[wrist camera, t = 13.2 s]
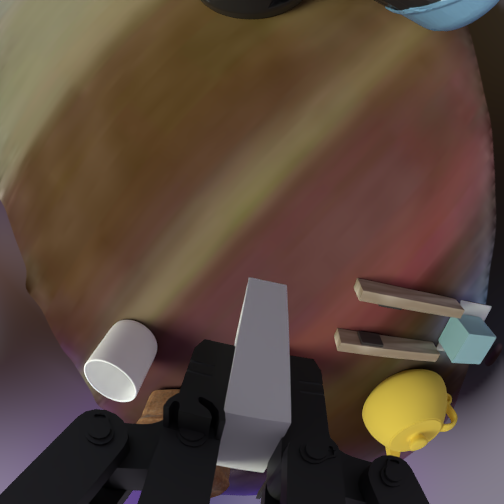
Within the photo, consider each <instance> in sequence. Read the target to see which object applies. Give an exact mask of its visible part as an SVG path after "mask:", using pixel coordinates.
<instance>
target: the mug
mask: <svg viewBox="0 0 504 504" xmlns="http://www.w3.org/2000/svg"><path fill="white" fill-rule="evenodd" d="M156 353H157V342H156V339H155V337H154V335H153V334H152V332H151V331H150V330H149V329H148V328H147V327H145V326H144V325H143V324H141V323H139V322H137V321H133V320H121V321H118V322H117V323H115V324H114V325H113V326H112V328H111V329H110V330H109V332H108V333H107V334H106V336H105V337H104V338H103V340H102V341H101V343H100V344H99V345H98V347H97V348H96V350H95V351H94V352H93V354H92V355H91V357H90V358H89V359H88V361H87V362H86V364H85V366H84V373H85V376H86V378H87V380H88V381H89V383H90V384H91V385H92V387H93V388H94V389H96V390H97V391H98V392H99V393H101V394H102V395H104V396H105V397H107V398H109V399H112V400H114V401H118V402H129V401H132V400H133V399H134V398H135V397H136V395H137V393H138V391H139V389H140V387H141V385H142V383H143V381H144V379H145V377H146V374H147V372H148V370H149V368H150V366H151V364H152V362H153V360H154V358H155V356H156Z"/></svg>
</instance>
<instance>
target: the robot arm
mask: <svg viewBox="0 0 504 504" xmlns="http://www.w3.org/2000/svg"><path fill="white" fill-rule="evenodd" d="M201 1H202V2H203V3H204V4H205V5H206V6H207V7H209V8H210V9H212V10H213V11H215V12H217V13H220V14H222V15H225V16H229V17H233V18H239V19H260V18H267V17H272V16H275V15H278V14H281V13H284V12H286V11H288V10H290V9H292V8H293V7H295V6H296V5H298V4H299V3H300V2H301V1H302V0H201ZM374 1H376V2H378V3H380V4H382V5H384V6H385V8H386V9H388V10H389V11H391V12H394V13H397V14H401V15H403V16H405V17H406V18H408V19H410V20H412V21H414V22H415V23H417V24H419V25H420V26H422V27H424V28H426V29H429V30H433V31H451V30H455V29H458V28H461V27H464V26H466V25H468V24H470V23H472V22H474V21H475V20H477V19H478V18H480V17H481V16H483V15H484V14H486V13H487V12H488V11H489V10H491V9H492V8H493V7H494V6H495V5H496V4H497V3H498V1H499V0H374ZM322 384H323V382H322V375H321V370H320V369H319V367H318V366H317V364H316V363H315V361H314V359H309V358H302V357H296V356H290V351H289V324H288V302H287V285H283V284H279V283H274V282H269V281H264V280H260V279H255V278H250V277H249V280H248V285H247V289H246V294H245V298H244V303H243V307H242V312H241V316H240V320H239V325H238V329H237V334H236V339H235V344H234V346H233V345H228V344H224V343H219V342H215V341H210V340H206V339H204V340H203V341H202V342H201V343H200V344H199V345H198V346H196V347H195V349H194V351H193V354H192V357H191V360H190V363H189V366H188V368H187V372H186V374H185V377H184V380H183V383H182V386H181V389H180V391H179V393H177V394H175V395H174V396H172V397H170V398H169V399H168V400H167V401H166V403H165V404H164V406H163V420H161V421H159V422H156V423H152V424H129V423H124V422H123V420H122V419H120V418H119V417H118V416H117V415H116V414H114V413H111V412H109V411H107V410H97V409H95V410H91V411H86V412H84V413H83V414H81V415H80V416H78V417H77V418H76V419H75V420H74V421H73V422H72V423H71V424H70V425H69V426H68V427H67V428H66V429H65V430H64V431H63V432H62V433H61V434H60V435H59V436H58V437H57V438H56V439H55V440H54V441H53V442H52V443H51V444H50V445H49V446H48V447H47V448H46V449H45V450H44V451H43V452H42V453H41V454H40V455H39V456H38V457H37V458H36V459H35V460H34V461H33V462H32V463H31V464H30V465H29V466H28V467H27V468H26V469H25V470H24V471H23V472H22V473H21V474H20V475H19V476H18V477H17V478H16V479H15V480H14V481H13V482H12V483H11V484H10V485H9V486H8V487H7V489H5V491H3V492H2V494H1V495H0V504H123V503H124V502H125V501H126V499H127V498H128V496H129V495H130V494H131V492H132V491H133V490H141V491H142V492H141V495H140V498H139V501H138V504H209V503H210V497H211V492H212V486H213V480H214V475H215V469H216V465H218V466H223V467H229V468H235V469H241V470H248V471H255V472H263V473H264V471H265V469H266V468H267V479H266V481H265V483H264V484H263V486H262V487H261V489H260V490H259V492H258V494H257V497H256V498H257V499H260V498H261V504H429V502H428V500H427V498H426V496H425V494H424V492H423V491H422V488H421V486H420V484H419V483H418V481H417V479H416V477H415V475H414V473H413V471H412V469H411V468H410V466H409V465H408V464H407V462H405V461H404V460H402V459H401V458H399V457H396V456H392V455H384V456H381V457H379V458H377V459H375V460H374V461H373V462H368V461H365V460H361V459H358V458H355V457H352V456H349V455H347V454H345V453H343V452H342V451H340V450H339V448H338V446H337V445H336V443H335V442H334V441H333V440H332V439H331V438H330V435H329V430H328V422H327V413H326V405H325V397H324V390H323V386H322Z"/></svg>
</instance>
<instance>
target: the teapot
mask: <svg viewBox="0 0 504 504" xmlns="http://www.w3.org/2000/svg"><path fill="white" fill-rule="evenodd" d="M451 402H452V397H451V395H450V394H447V391H446V386H445V383H444V381H443V379H442V377H441V376H440V375H438V374H437V373H436V372H433V371H430V370H425V369H410V370H405V371H402V372H399V373H396V374H394V375H392V376H390V377H388V378H387V379H385V380H384V381H382V382H381V383H380V384H379V385H378V386H377V387H376V388H375V389H374V390H373V391H372V392H371V394H370V395H369V397H368V398H367V400H366V402H365V404H364V407H363V411H362V417H363V420H364V423H365V425H366V427H367V429H368V431H369V432H370V434H371V435H372V436H373V437H374V438H375V439H376V440H377V441H379V442H380V443H381V444H383V445H384V446H385V448H386V453H387V455H392V456H396V457H400V452H404V451H410V450H411V451H414V450H418V449H421V448H422V447H424V446H425V445H426V444H427V443H428V442H429V441H431V440H432V439H433V438H434V437H435V436H436V435H437V434H438V433H439V431H440V432H445V431H448V430H450V429H452V428H453V427H454V426H455V424H456V422H457V414H456V412H455V411H454V409H453V408H452V407H451V406H450V404H451ZM445 414H447V415H448V416H449V418H450V420H451V423H449V424H443V422H444V418H445Z"/></svg>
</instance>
